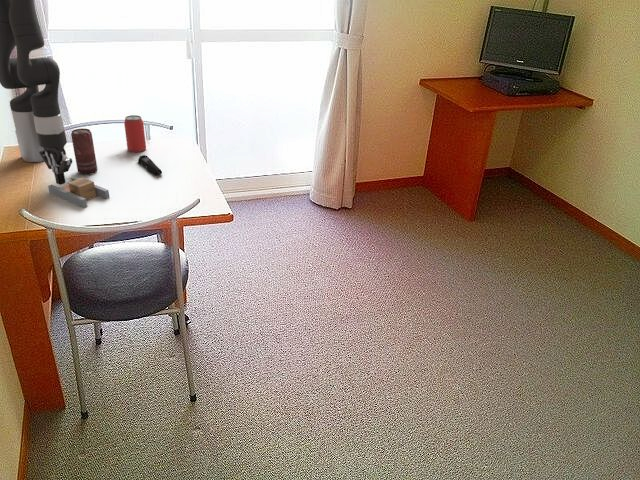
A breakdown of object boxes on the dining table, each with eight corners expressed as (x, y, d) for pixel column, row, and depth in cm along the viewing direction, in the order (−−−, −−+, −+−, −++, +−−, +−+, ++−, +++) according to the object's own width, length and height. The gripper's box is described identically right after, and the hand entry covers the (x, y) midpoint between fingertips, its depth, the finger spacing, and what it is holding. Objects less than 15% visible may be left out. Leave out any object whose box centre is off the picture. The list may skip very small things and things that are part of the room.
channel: (49, 193, 164) (47, 185, 163) (75, 183, 171) (74, 176, 170) (83, 207, 157) (82, 200, 156) (109, 197, 164) (108, 189, 162)
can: (91, 176, 176) (84, 135, 169) (74, 173, 177) (66, 132, 170) (102, 169, 181) (95, 129, 175) (84, 167, 182) (77, 126, 175)
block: (71, 198, 162) (68, 182, 160) (85, 192, 166) (82, 177, 164) (82, 202, 160) (79, 187, 158) (96, 196, 164) (93, 181, 161)
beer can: (124, 151, 197) (120, 119, 191) (132, 145, 202) (128, 113, 196) (141, 153, 196) (137, 121, 190) (149, 147, 201) (146, 115, 196)
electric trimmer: (154, 179, 178) (153, 170, 177) (137, 163, 189) (136, 154, 187) (165, 177, 180) (164, 168, 179) (147, 161, 191) (147, 152, 189)
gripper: (24, 127, 158) (36, 182, 167) (52, 137, 152) (63, 193, 161) (47, 121, 164) (58, 174, 173) (75, 130, 158) (85, 185, 167)
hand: (61, 183), depth 167 cm, fingers closed
